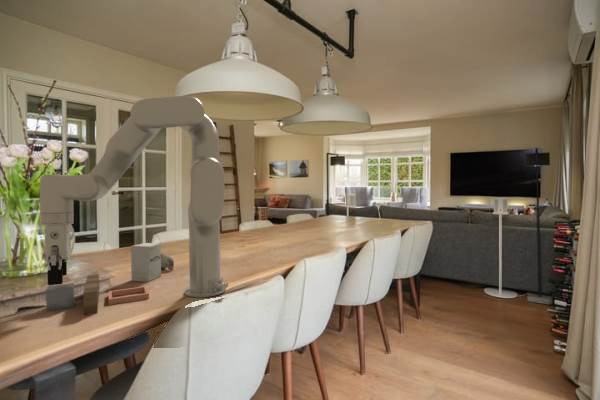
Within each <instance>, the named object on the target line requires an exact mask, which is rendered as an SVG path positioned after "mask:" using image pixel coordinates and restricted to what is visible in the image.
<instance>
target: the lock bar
mask: <svg viewBox="0 0 600 400" xmlns="http://www.w3.org/2000/svg"><path fill="white" fill-rule="evenodd" d="M45 295H46V296H45V297H46V298H45V299H46V313H47V312H53V311H54V312H55V311H60V310H66V309H73V308H74V306H75V283H74V282H73V283H62V284H57V285H47V287H46V290H45Z"/></svg>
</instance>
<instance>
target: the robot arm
mask: <svg viewBox="0 0 600 400" xmlns="http://www.w3.org/2000/svg"><path fill="white" fill-rule="evenodd" d="M178 127H180V128H181V129H182V130H184V131H185V132H187V133H188V134H189V136H190V139H191V159H190V160H191V163H190V169H189V176H190V196H189V197H190V200H189V203H188V208H187V212H188V213H187V217H188V239H189V241H188V243H189V244H188V248H189V253H188V254H189V257H188V258H189V260H188V261H189V262H188V263H189V286H187V287H186V288H184V294H185V295H186V296H188V297H190V298H191V297H192V298H210V297H215V296H218V295H221V294H223V293H224V292H225V291H226V290H227V288H228V287H229V283H228V282H224V277H221V228H220V226H221V225H220V224H221V223H220V220H221V218H222V217H223V214H224V205H225V179H226V178H225V170H224V167H223V166H222V164H221V162H220V136H219V133H218V129H217V127H216V125H215V124H214V123H213V120H212V119H211V118H209V116H208V115H207V114H206V111H205V106H204V105H203V103H202V102H201V101H200V100H199V99H198V98H196V97H194V96H189V95H178V96H177V95H176V96H165V97H164V96H163V97H152V98H151V97H150V98H143V99H140V100H137V101H136V102H134V103H133V105H132V106H131V109H130V116H129V117H127V119H126V121H124V122H123V124H122V125H121V126H120V127H119V128H118V129H117V131H116V132H115V133H114V134H113V135H112V136H111V137H110V138H109V140H108V141H107V144H106V146H105V151H104V153H103V155H102V156H101V159H100V160H99V161H98V162H97V164H96V165H95V166H94V167H93V168H92V169H91V170H90V172H89V173H87V174H86V173H85V174H76V175H75V174H74V175H72V174H71V175H69V174H57V173H55V174H54V173H52V174H49V173H46V174H43V175H41V176H40V179H39V192H40V193H39V203H40V204H39V206H40V207H39V212H40V214H39V216H40V220H39V224H40V226H44V228H45V229H44V230H45V237H44V238H45V240H44V241H45V260H46V262H48V267H47V286H54V285H63V284H64V283H63V280H64V279H63V276H67V273H68V270H67V269H68V268H67V265H68V264H67V263H68V262H67V261H68V260H69V259H70V257H71V256H72V250H71V249H72V248H71V226H70V225H72V224H73V225H74V216H75V215H74V206H75V205H74V201H78V202H79V201H80V202H92V201H96V200H99V199H102V198H103V197H105V196H106V195H107V194H108V193H109V192H110V190H111V189H112V188H113V187H114V186H115V185H116V183H117V182H118V181H119V180H120V179H121V177H122V176H123V175H124V174H125V172H126V171H127V170H128V169H129V168H130V166H132V165H133V163H134V161H135V160H136V159H137V158H138V157H139V156H140V154H141V153H142V152H143V151H144V150H145V148H146V147H147V146H148V145H149V144H150V143H151V142H152V140H154V138H155V137H156V136H157V135H158V133H160V132H161V130H162V129H168V128H178Z"/></svg>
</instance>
